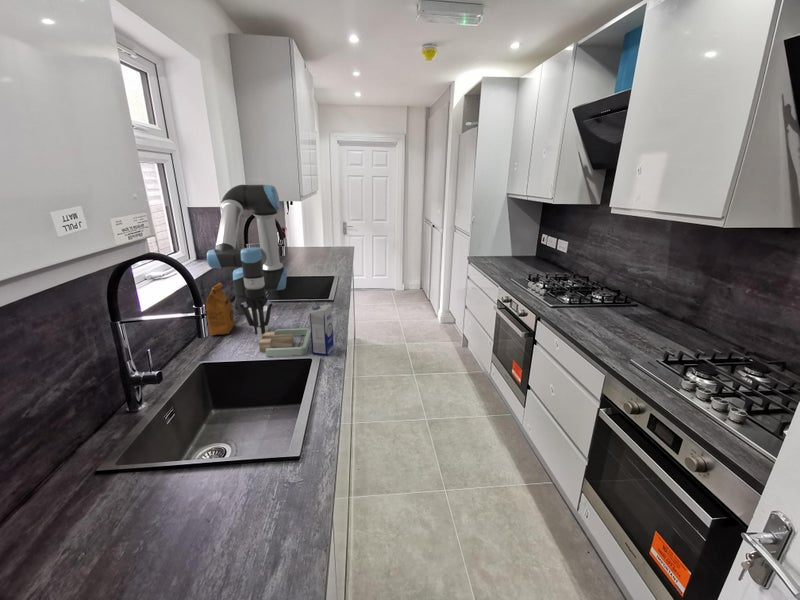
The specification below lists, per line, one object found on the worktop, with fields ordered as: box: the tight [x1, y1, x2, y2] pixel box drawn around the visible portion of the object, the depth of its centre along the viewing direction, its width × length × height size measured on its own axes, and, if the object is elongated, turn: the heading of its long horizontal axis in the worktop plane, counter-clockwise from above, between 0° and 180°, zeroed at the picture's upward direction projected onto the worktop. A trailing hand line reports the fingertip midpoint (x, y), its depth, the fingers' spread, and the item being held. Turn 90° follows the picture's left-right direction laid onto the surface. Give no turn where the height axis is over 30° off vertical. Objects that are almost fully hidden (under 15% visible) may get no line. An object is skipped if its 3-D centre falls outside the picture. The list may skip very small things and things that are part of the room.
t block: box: [258, 330, 294, 353], centre depth 151 cm, size 12×12×4 cm
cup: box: [248, 305, 269, 333], centre depth 164 cm, size 10×10×11 cm
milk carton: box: [308, 304, 335, 357], centre depth 143 cm, size 7×7×20 cm
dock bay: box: [265, 327, 311, 357], centre depth 152 cm, size 21×16×3 cm
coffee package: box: [205, 282, 235, 337], centre depth 161 cm, size 10×12×22 cm
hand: (261, 340), depth 150 cm, fingers closed
